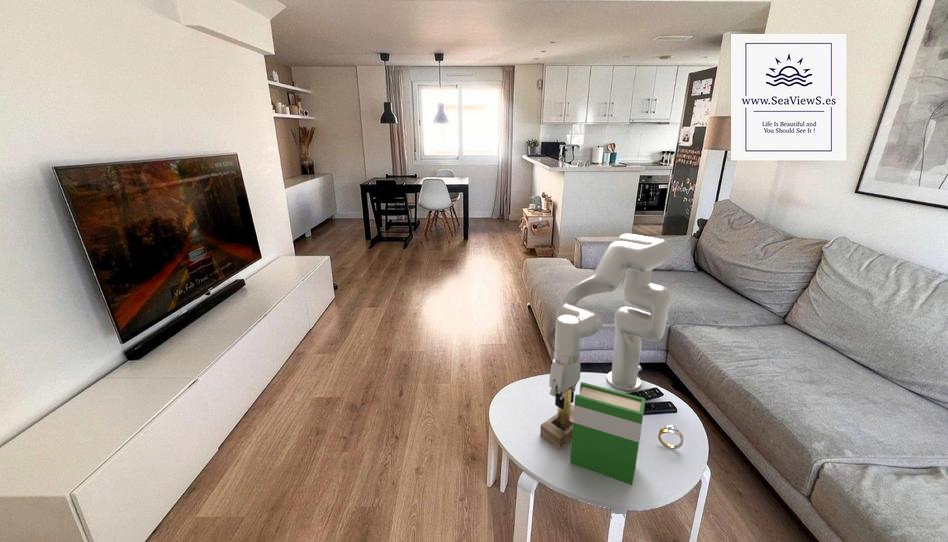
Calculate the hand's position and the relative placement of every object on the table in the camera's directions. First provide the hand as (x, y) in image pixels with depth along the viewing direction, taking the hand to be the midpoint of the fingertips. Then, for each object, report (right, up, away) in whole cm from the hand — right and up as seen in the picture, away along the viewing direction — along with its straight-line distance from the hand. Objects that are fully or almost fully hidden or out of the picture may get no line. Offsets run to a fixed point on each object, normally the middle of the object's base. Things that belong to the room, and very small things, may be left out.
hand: (564, 403), depth 127 cm
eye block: (+1, -10, +5) cm, 12 cm away
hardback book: (+9, -15, -9) cm, 20 cm away
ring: (+32, -13, -3) cm, 35 cm away
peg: (0, -6, +2) cm, 6 cm away
